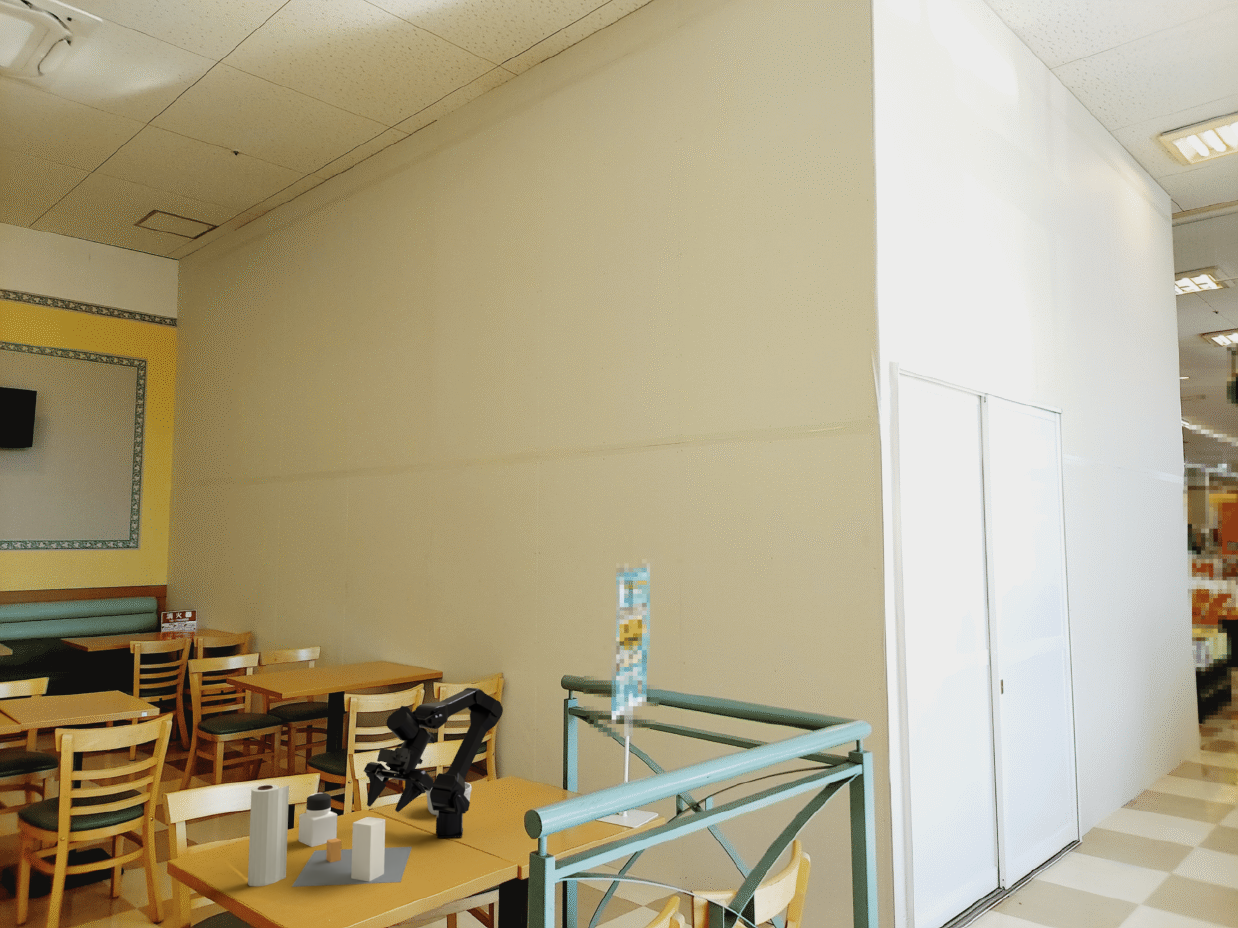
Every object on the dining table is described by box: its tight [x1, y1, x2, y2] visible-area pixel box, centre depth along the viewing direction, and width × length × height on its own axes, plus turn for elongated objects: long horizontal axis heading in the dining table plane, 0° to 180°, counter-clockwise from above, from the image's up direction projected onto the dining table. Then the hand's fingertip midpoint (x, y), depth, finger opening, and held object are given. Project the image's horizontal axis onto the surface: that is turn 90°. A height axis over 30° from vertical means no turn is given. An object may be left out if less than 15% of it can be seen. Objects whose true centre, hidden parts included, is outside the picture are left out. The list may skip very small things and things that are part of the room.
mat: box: [291, 846, 413, 888], centre depth 213 cm, size 24×24×1 cm
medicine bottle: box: [298, 792, 338, 848], centre depth 232 cm, size 7×7×12 cm
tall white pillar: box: [351, 816, 386, 882], centre depth 207 cm, size 5×5×12 cm
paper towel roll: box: [247, 784, 290, 887], centre depth 204 cm, size 7×6×21 cm
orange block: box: [326, 837, 342, 863], centre depth 217 cm, size 3×3×5 cm
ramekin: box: [425, 781, 473, 816], centre depth 260 cm, size 13×13×7 cm
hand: (382, 808), depth 216 cm, fingers open, 9 cm apart
